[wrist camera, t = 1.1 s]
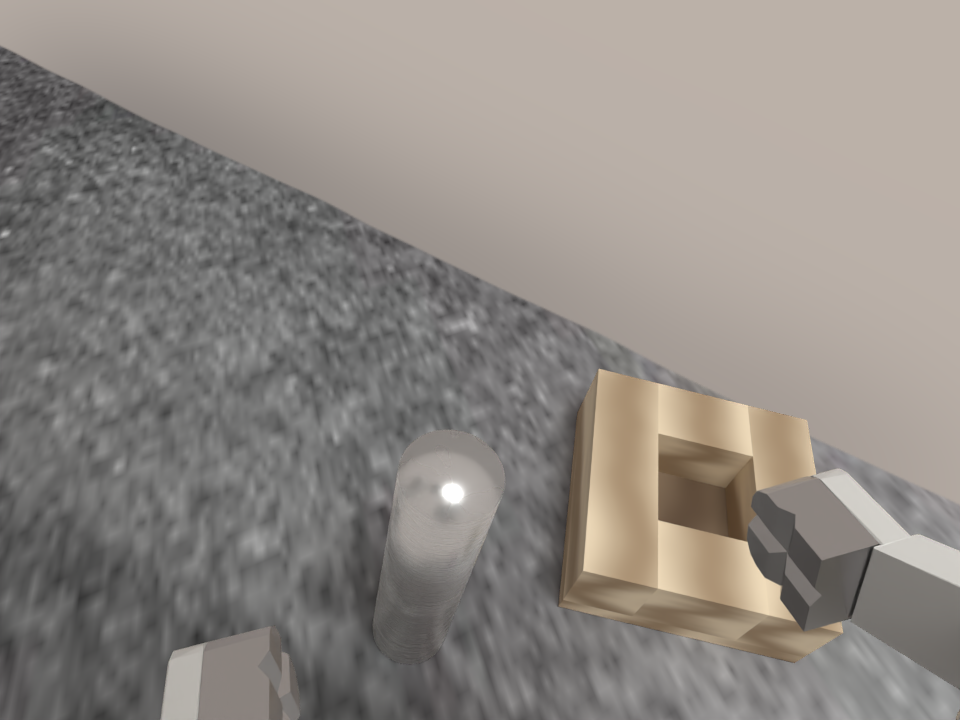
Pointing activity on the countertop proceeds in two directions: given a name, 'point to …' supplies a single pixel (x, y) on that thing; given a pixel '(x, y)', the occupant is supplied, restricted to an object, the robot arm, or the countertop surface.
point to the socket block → (680, 515)
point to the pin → (433, 540)
